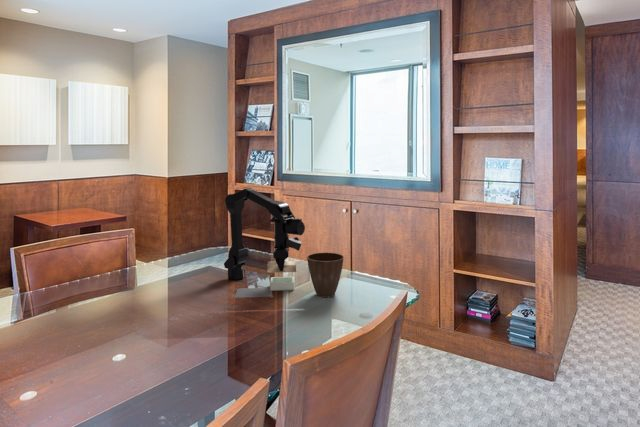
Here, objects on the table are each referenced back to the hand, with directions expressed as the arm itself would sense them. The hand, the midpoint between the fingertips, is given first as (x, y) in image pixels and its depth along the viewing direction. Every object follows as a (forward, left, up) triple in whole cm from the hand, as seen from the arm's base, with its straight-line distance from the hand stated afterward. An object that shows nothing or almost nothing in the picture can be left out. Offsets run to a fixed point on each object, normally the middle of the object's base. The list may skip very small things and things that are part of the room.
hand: (281, 268), depth 203 cm
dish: (0, 0, -9) cm, 9 cm away
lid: (0, 0, -1) cm, 0 cm away
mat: (-12, -6, -9) cm, 16 cm away
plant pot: (+18, -9, -9) cm, 22 cm away
